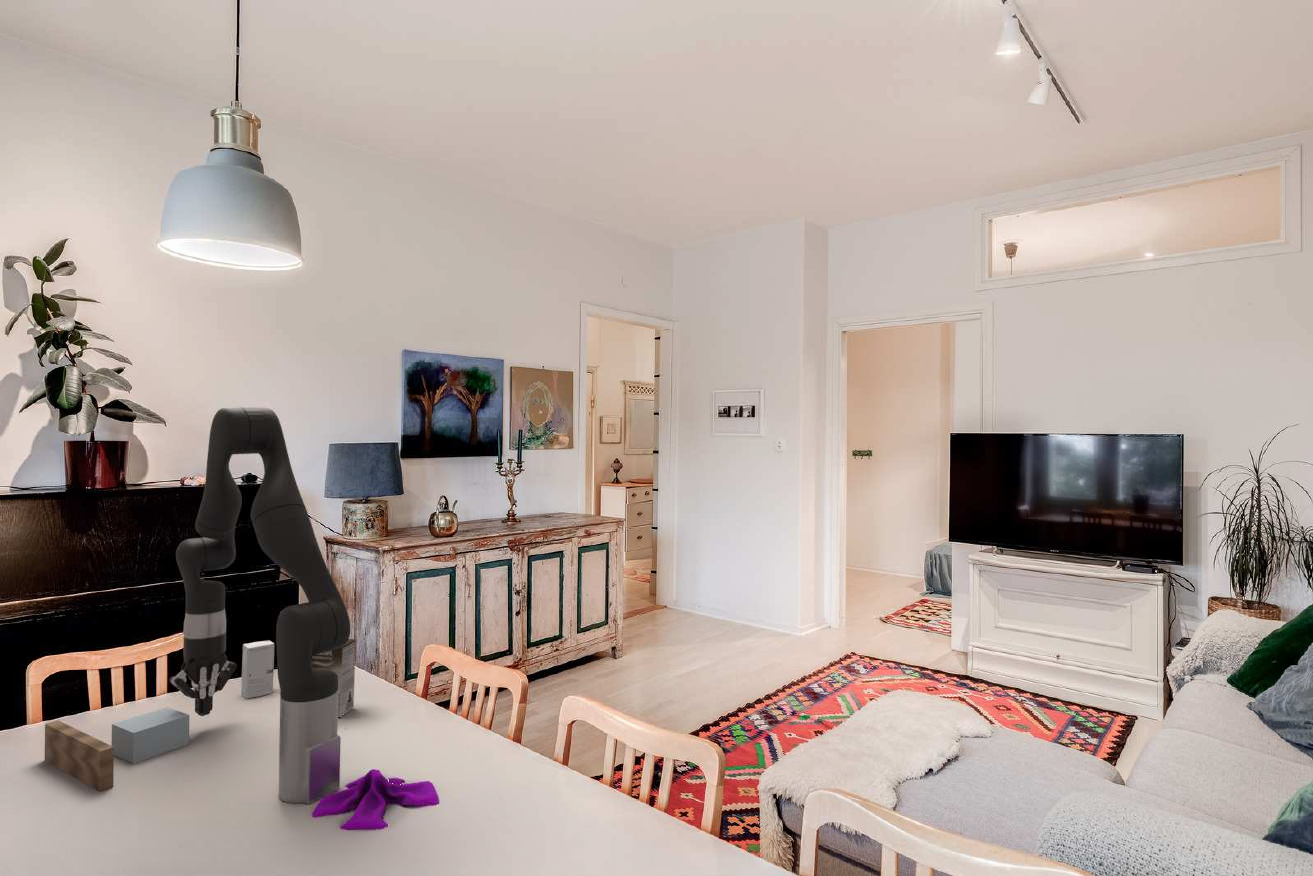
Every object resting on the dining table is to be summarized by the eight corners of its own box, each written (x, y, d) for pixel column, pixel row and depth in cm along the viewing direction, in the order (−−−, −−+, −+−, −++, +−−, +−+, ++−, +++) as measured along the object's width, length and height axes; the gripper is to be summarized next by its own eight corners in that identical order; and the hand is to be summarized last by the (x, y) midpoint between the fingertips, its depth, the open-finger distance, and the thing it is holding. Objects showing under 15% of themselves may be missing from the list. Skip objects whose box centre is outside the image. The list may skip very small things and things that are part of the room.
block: (189, 744, 142) (189, 715, 142) (133, 764, 133) (133, 733, 133) (167, 736, 146) (167, 707, 146) (111, 754, 137) (111, 724, 137)
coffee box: (301, 716, 156) (302, 644, 156) (317, 705, 163) (318, 636, 163) (340, 719, 155) (341, 646, 155) (355, 708, 162) (356, 638, 162)
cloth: (459, 794, 125) (459, 760, 125) (374, 847, 109) (374, 808, 109) (371, 765, 135) (372, 733, 135) (281, 810, 119) (282, 773, 119)
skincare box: (245, 699, 165) (246, 648, 165) (240, 694, 169) (241, 644, 169) (274, 693, 170) (275, 643, 170) (268, 688, 173) (269, 639, 173)
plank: (113, 786, 124) (113, 747, 124) (99, 791, 123) (100, 751, 123) (57, 756, 135) (58, 720, 135) (44, 760, 134) (45, 723, 134)
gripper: (180, 642, 140) (178, 729, 140) (246, 627, 152) (245, 708, 152) (161, 636, 144) (159, 721, 144) (227, 622, 156) (226, 700, 156)
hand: (203, 714), depth 148 cm, fingers closed
